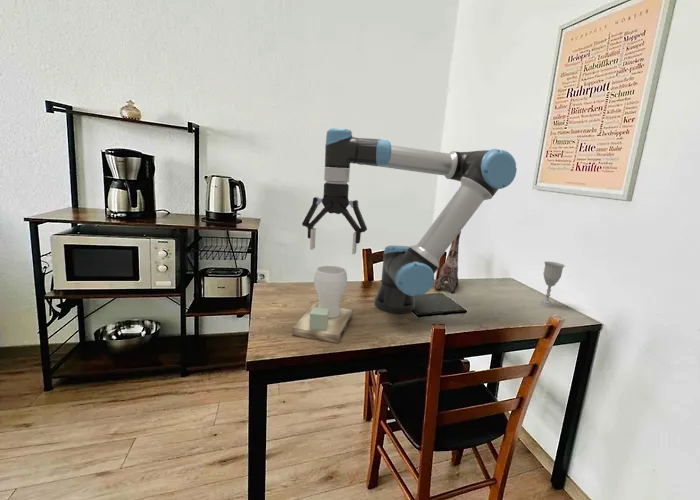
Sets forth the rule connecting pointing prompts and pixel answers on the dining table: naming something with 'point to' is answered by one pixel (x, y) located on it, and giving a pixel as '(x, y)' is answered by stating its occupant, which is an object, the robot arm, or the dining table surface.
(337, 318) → the dock
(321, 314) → the pale green cube
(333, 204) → the robot arm
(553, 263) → the chalice
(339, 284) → the cup
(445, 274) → the toy
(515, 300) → the dining table surface
